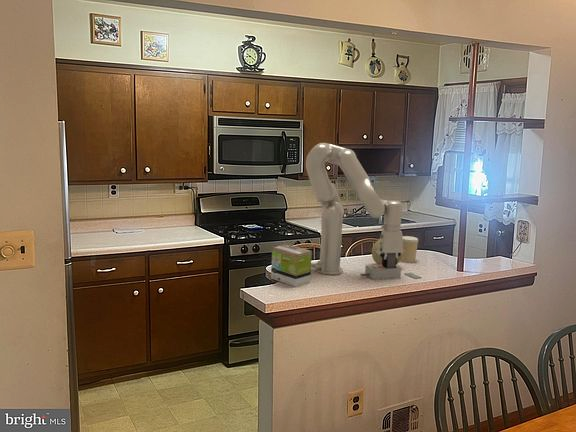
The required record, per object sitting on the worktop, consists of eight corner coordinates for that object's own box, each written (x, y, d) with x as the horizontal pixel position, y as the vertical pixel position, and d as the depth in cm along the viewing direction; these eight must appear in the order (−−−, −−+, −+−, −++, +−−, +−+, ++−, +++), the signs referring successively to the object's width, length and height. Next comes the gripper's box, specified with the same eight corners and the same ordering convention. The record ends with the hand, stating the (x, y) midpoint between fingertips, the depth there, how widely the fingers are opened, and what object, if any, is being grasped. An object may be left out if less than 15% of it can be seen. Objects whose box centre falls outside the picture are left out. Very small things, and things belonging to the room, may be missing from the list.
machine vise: (364, 280, 241) (365, 269, 240) (357, 275, 248) (357, 264, 247) (400, 278, 246) (401, 267, 245) (392, 273, 254) (392, 262, 253)
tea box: (270, 279, 236) (271, 246, 234) (285, 275, 244) (287, 243, 241) (295, 287, 226) (297, 253, 224) (311, 283, 234) (312, 249, 231)
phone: (414, 280, 246) (414, 278, 246) (403, 275, 253) (404, 273, 253) (421, 279, 248) (421, 277, 248) (410, 274, 255) (410, 272, 255)
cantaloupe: (364, 265, 266) (366, 235, 264) (385, 261, 275) (387, 232, 272) (386, 272, 255) (389, 241, 252) (407, 268, 263) (409, 238, 261)
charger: (387, 269, 246) (388, 254, 244) (383, 267, 249) (384, 252, 248) (394, 269, 247) (396, 254, 246) (390, 266, 251) (391, 252, 249)
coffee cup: (419, 260, 280) (421, 237, 278) (413, 264, 272) (414, 240, 270) (401, 257, 285) (403, 235, 283) (395, 260, 277) (397, 238, 275)
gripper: (379, 230, 239) (376, 269, 242) (412, 229, 244) (409, 268, 247) (371, 226, 246) (368, 265, 249) (404, 225, 251) (401, 263, 254)
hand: (389, 266), depth 248 cm, fingers closed on charger, 4 cm apart
